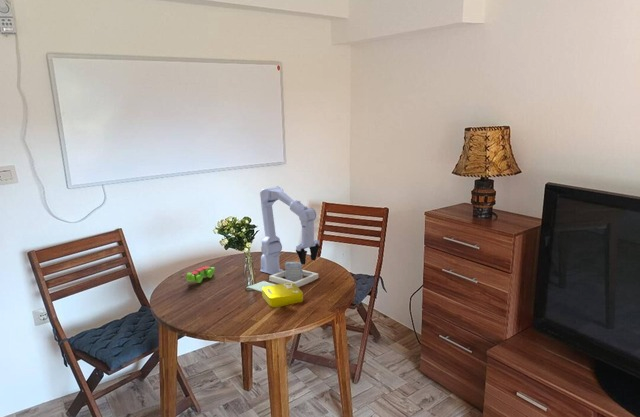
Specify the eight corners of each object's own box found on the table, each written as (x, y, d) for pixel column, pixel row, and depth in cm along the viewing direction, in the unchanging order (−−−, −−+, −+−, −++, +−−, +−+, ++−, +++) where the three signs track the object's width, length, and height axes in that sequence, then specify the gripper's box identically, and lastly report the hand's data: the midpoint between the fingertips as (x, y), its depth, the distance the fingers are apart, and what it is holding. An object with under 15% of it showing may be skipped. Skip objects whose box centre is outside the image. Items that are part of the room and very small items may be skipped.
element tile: (261, 296, 193) (260, 285, 192) (292, 290, 199) (292, 280, 198) (270, 308, 179) (270, 297, 178) (304, 302, 185) (304, 291, 184)
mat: (247, 287, 202) (247, 286, 202) (263, 281, 210) (263, 280, 210) (262, 292, 196) (262, 291, 196) (278, 286, 203) (278, 285, 203)
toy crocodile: (208, 272, 225) (208, 261, 224) (219, 274, 222) (218, 262, 221) (181, 284, 207) (180, 272, 206) (192, 286, 205) (191, 274, 203)
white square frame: (269, 280, 211) (269, 276, 210) (293, 271, 223) (292, 267, 223) (295, 288, 200) (295, 283, 200) (318, 278, 213) (318, 273, 212)
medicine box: (302, 278, 214) (302, 261, 212) (301, 281, 209) (301, 264, 208) (287, 278, 214) (286, 261, 213) (285, 281, 210) (284, 264, 208)
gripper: (304, 238, 195) (304, 267, 198) (324, 232, 207) (324, 259, 209) (292, 236, 200) (293, 264, 202) (312, 230, 211) (313, 257, 213)
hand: (308, 262), depth 206 cm, fingers open, 7 cm apart
